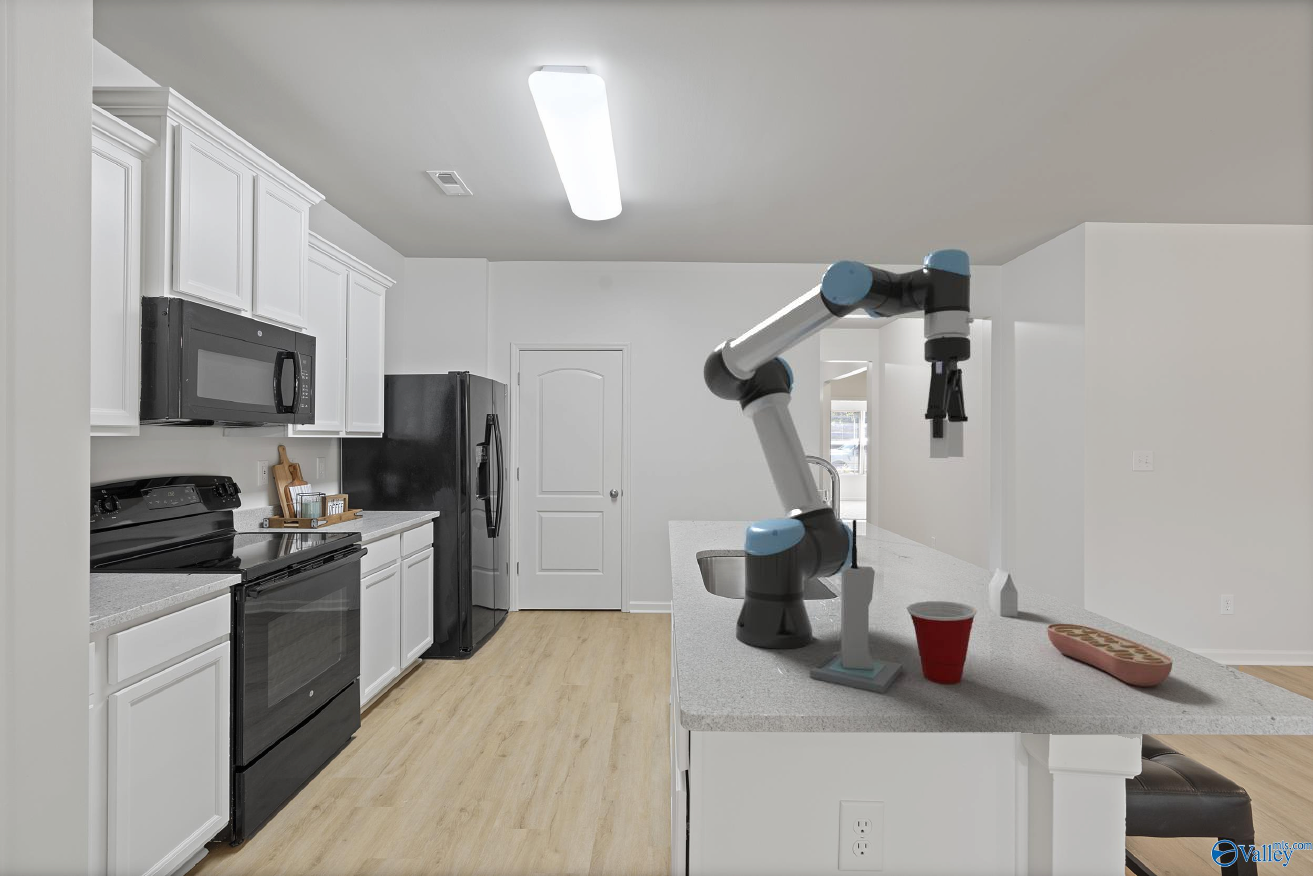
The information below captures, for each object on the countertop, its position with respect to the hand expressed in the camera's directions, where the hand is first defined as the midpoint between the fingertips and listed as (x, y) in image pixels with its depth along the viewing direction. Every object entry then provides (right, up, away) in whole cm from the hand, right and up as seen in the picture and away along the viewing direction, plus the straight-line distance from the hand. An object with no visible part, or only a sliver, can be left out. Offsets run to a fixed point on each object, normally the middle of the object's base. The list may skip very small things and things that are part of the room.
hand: (947, 457), depth 116 cm
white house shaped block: (+28, -38, +34) cm, 58 cm away
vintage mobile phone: (-18, -36, -5) cm, 40 cm away
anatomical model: (+27, -38, -2) cm, 46 cm away
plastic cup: (-4, -37, -7) cm, 38 cm away
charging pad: (-18, -37, -5) cm, 41 cm away
